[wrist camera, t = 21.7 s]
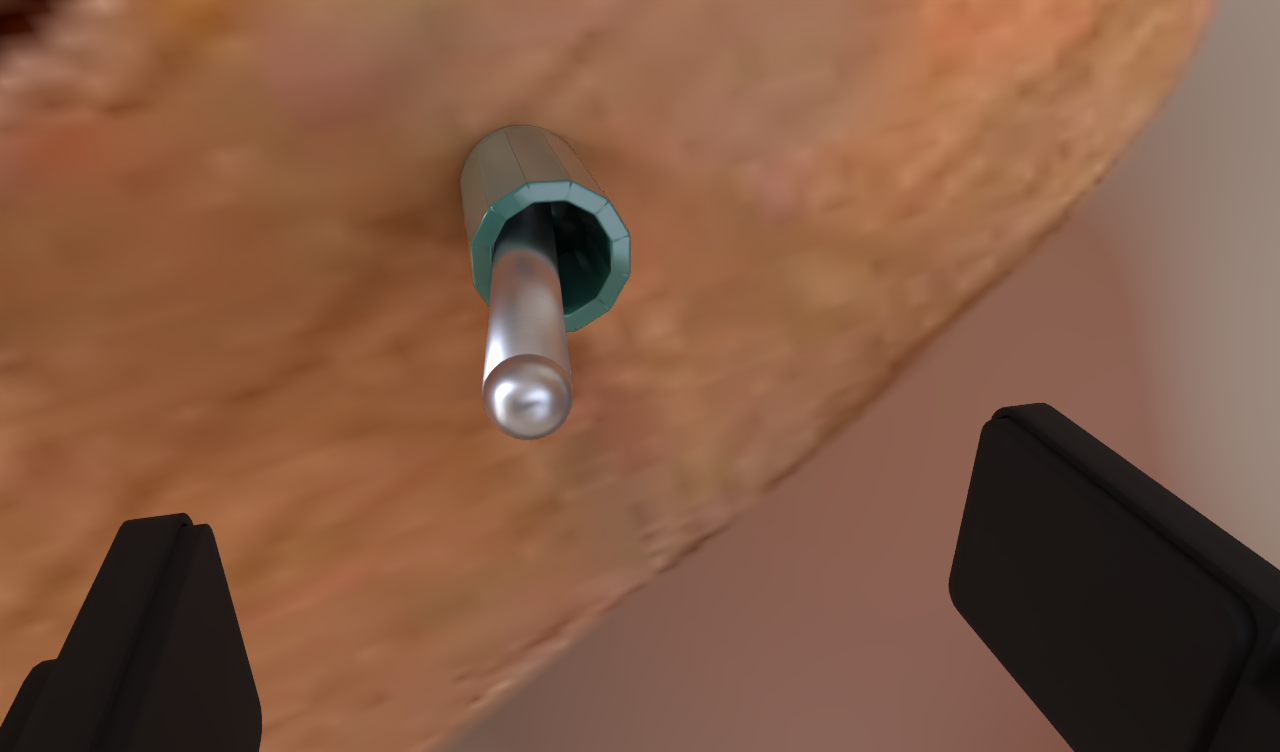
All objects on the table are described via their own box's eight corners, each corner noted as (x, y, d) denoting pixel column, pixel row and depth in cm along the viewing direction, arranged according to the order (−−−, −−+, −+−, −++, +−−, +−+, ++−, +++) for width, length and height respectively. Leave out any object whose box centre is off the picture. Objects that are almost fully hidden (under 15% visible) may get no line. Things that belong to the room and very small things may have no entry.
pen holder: (466, 251, 27) (478, 340, 21) (454, 127, 25) (464, 185, 19) (585, 243, 28) (631, 327, 21) (582, 122, 26) (630, 177, 20)
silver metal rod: (500, 216, 26) (484, 459, 14) (497, 167, 25) (476, 377, 13) (549, 215, 26) (577, 453, 14) (547, 166, 26) (574, 372, 13)
